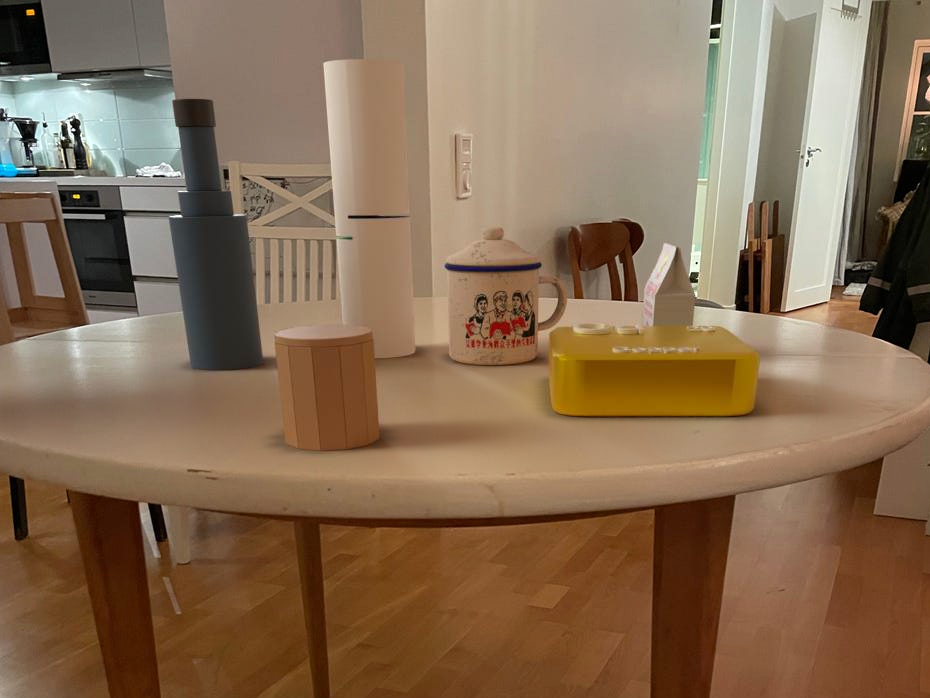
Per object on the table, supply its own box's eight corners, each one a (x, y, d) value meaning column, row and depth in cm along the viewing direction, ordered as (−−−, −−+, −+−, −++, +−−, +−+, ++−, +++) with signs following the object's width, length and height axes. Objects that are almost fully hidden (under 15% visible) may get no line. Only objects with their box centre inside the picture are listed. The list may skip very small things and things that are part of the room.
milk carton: (676, 349, 93) (685, 242, 88) (689, 361, 87) (699, 246, 82) (640, 350, 93) (647, 242, 88) (650, 362, 87) (658, 247, 82)
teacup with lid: (461, 369, 85) (458, 231, 79) (436, 353, 92) (432, 226, 87) (582, 361, 88) (587, 227, 82) (548, 346, 95) (551, 223, 90)
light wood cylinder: (285, 453, 59) (272, 340, 56) (286, 429, 65) (274, 326, 62) (382, 447, 60) (375, 336, 57) (375, 424, 66) (368, 322, 63)
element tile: (552, 417, 67) (553, 350, 65) (547, 377, 80) (549, 320, 78) (759, 417, 66) (768, 349, 64) (720, 377, 80) (726, 319, 78)
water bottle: (187, 371, 85) (145, 97, 75) (194, 359, 91) (156, 103, 81) (262, 368, 86) (230, 97, 76) (264, 356, 92) (235, 103, 82)
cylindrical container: (398, 359, 89) (383, 57, 78) (332, 356, 91) (308, 61, 80) (425, 347, 95) (415, 65, 84) (363, 344, 97) (345, 69, 86)
